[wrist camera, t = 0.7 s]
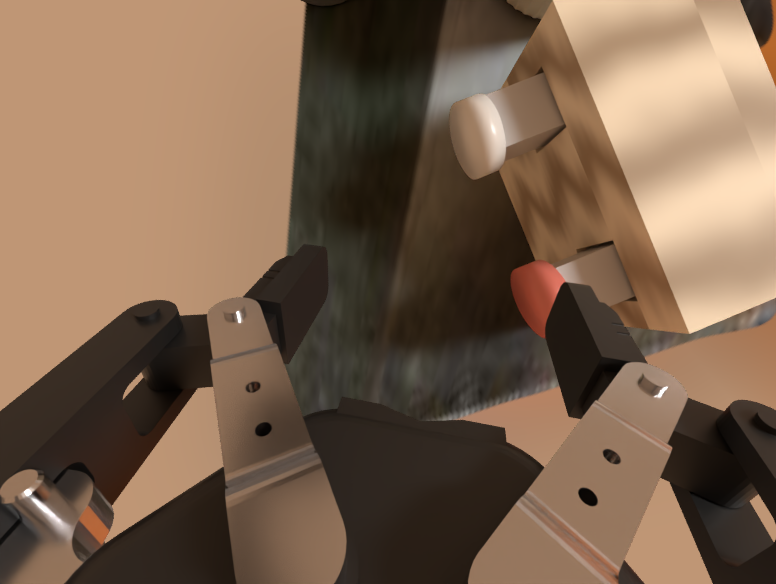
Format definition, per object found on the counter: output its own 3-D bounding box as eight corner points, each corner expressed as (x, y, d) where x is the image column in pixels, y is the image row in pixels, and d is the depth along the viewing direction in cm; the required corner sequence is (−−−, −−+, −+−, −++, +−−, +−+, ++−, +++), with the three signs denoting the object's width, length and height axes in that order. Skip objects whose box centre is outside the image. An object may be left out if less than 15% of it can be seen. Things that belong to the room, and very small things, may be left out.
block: (479, 124, 34) (552, -1, 20) (575, 87, 34) (714, -62, 20) (559, 318, 33) (689, 333, 19) (654, 279, 34) (849, 266, 20)
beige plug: (443, 126, 27) (459, 85, 22) (546, 86, 27) (585, 36, 22) (469, 189, 27) (491, 162, 22) (571, 148, 27) (617, 113, 22)
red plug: (502, 271, 27) (532, 264, 22) (604, 229, 27) (658, 213, 22) (528, 334, 27) (564, 343, 22) (630, 292, 27) (690, 291, 22)
